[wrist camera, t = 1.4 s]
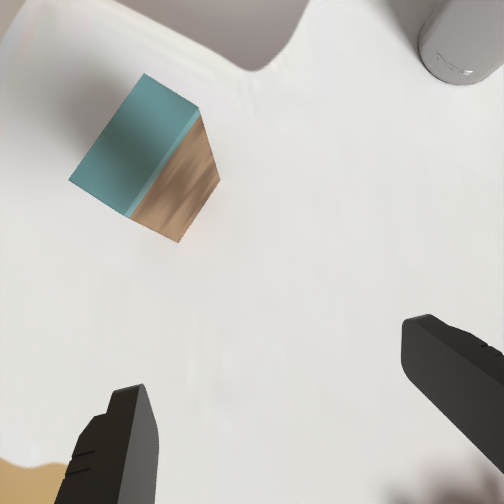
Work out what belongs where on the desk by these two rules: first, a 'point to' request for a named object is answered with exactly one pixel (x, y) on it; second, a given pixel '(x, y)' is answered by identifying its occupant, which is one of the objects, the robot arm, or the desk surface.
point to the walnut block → (152, 161)
